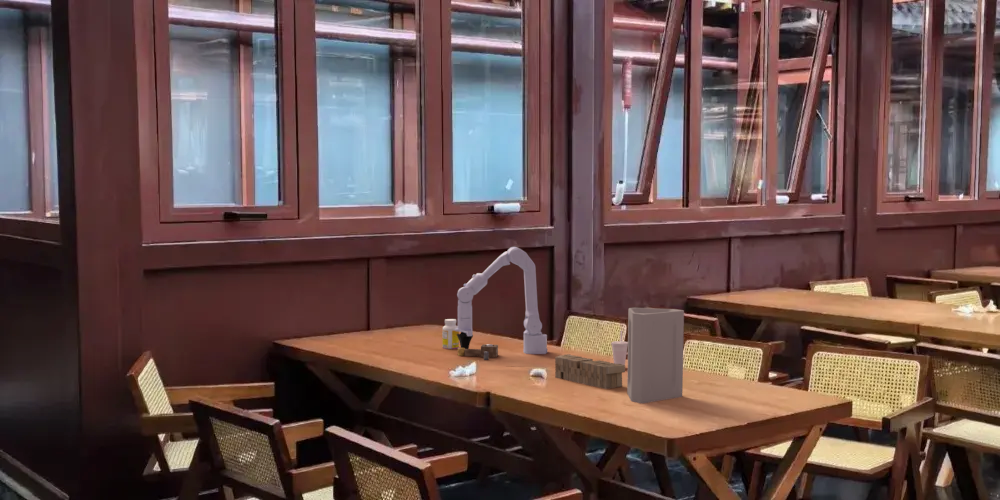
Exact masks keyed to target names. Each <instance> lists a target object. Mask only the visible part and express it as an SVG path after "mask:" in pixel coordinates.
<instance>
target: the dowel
mask: <svg viewBox="0 0 1000 500" xmlns="http://www.w3.org/2000/svg"><path fill="white" fill-rule="evenodd" d="M489 358H490V357H489V352H488V351H484V357H483V360H484V361H489Z"/></svg>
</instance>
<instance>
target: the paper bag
mask: <svg viewBox="0 0 1000 500" xmlns="http://www.w3.org/2000/svg"><path fill="white" fill-rule="evenodd" d="M627 312H628V318H627V320H628V322H627V325H628V327H627V331H628V332H627V334H628V335H627V342H628V346H627V383H626V384H627V385H626V386H627V387H626V388H627V390H626V394H627V395H628V398H629V400H630V401H631V402H632V403H638V404H648V403H651V402H652V403H653V402H660V401H666V400H671V399H677V398H682V397H683V386H684V385H683V383H684V381H683V380H684V377H683V374H684V370H683V369H684V332H685V331H684V327H685V310H683V309H677V308H656V307H655V308H653V307H652V308H651V307H629V308H628V311H627Z"/></svg>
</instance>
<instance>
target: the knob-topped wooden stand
mask: <svg viewBox="0 0 1000 500" xmlns="http://www.w3.org/2000/svg"><path fill="white" fill-rule="evenodd" d="M486 345H487V344H481V346H480V348H469V349H465V348H461V347H459V348H457V356H458V357H480V358H484V351H488V352H489V358H497V357H498V356H499V344H492V345H493V347H491V346H486Z"/></svg>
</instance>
